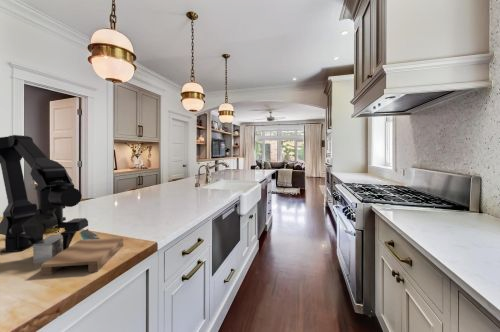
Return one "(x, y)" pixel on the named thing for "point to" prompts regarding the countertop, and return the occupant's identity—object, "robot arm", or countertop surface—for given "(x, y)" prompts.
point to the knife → (88, 235)
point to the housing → (47, 248)
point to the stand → (84, 255)
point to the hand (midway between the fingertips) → (52, 251)
